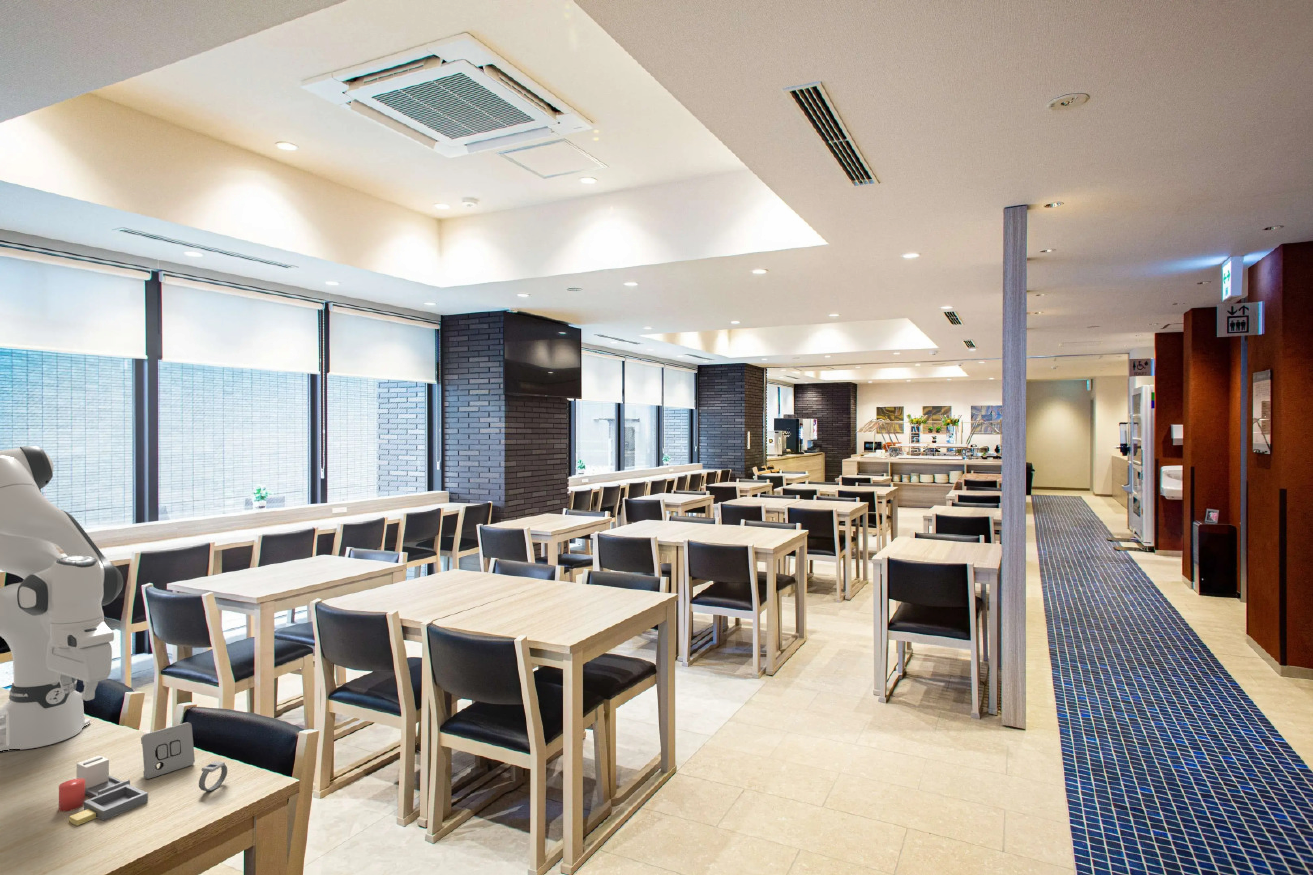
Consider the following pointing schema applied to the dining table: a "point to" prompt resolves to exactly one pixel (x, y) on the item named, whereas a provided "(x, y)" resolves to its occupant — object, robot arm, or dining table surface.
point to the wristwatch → (211, 768)
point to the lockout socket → (110, 804)
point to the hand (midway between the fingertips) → (77, 695)
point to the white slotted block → (93, 771)
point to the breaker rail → (105, 787)
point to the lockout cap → (71, 794)
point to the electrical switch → (167, 750)
